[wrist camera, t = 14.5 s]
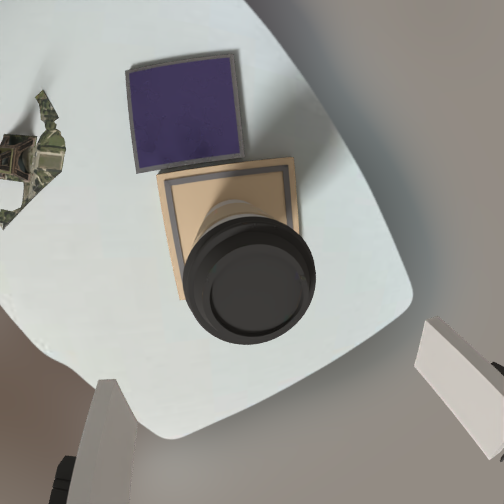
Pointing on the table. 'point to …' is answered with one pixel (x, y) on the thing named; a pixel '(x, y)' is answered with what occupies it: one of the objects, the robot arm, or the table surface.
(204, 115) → the ink pad
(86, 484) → the robot arm
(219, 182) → the square wooden board
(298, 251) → the coffee cup
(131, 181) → the table surface
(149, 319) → the table surface
